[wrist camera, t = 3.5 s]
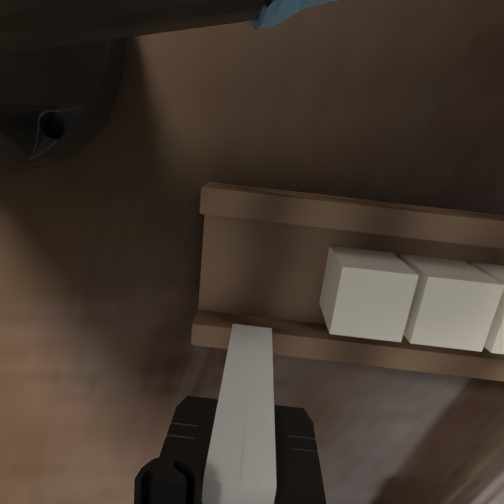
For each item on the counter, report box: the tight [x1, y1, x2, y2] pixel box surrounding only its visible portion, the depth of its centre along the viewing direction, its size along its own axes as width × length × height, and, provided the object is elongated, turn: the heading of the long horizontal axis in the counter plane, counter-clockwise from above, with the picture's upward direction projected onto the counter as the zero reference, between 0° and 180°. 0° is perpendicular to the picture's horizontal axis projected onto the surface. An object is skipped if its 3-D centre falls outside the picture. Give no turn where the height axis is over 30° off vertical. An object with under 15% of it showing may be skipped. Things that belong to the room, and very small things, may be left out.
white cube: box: [399, 254, 504, 352], centre depth 21 cm, size 4×4×4 cm
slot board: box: [191, 182, 504, 381], centre depth 22 cm, size 20×10×3 cm, turn 84°
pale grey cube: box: [319, 246, 419, 342], centre depth 21 cm, size 4×4×4 cm
